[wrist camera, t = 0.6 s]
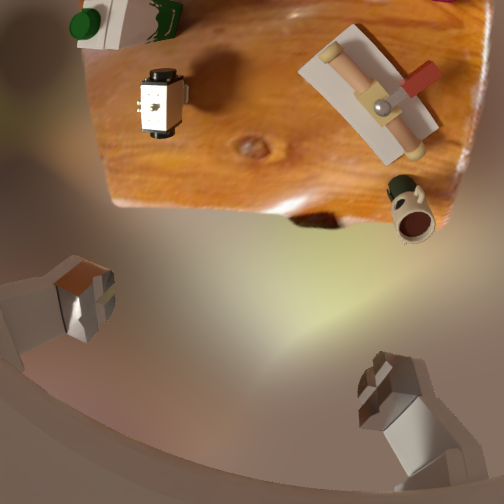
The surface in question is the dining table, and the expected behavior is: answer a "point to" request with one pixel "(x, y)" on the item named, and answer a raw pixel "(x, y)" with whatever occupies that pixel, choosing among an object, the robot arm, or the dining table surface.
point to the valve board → (354, 106)
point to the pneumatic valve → (162, 102)
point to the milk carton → (124, 23)
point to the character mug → (410, 210)
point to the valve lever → (408, 87)
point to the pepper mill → (445, 0)
